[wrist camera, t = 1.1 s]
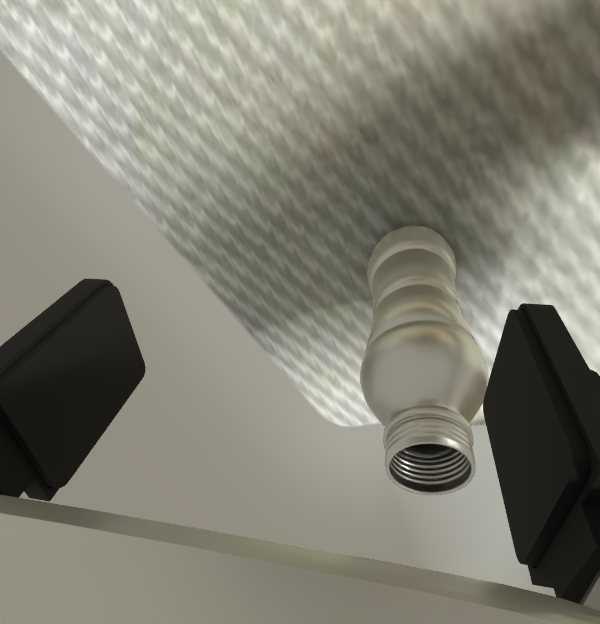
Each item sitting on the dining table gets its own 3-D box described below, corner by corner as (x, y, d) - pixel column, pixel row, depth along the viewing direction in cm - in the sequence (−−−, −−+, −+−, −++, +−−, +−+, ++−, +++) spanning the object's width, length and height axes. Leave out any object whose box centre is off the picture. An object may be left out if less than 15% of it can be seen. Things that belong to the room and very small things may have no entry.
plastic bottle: (354, 270, 35) (324, 480, 19) (395, 201, 31) (404, 390, 15) (420, 302, 35) (448, 531, 19) (469, 238, 32) (555, 458, 15)
